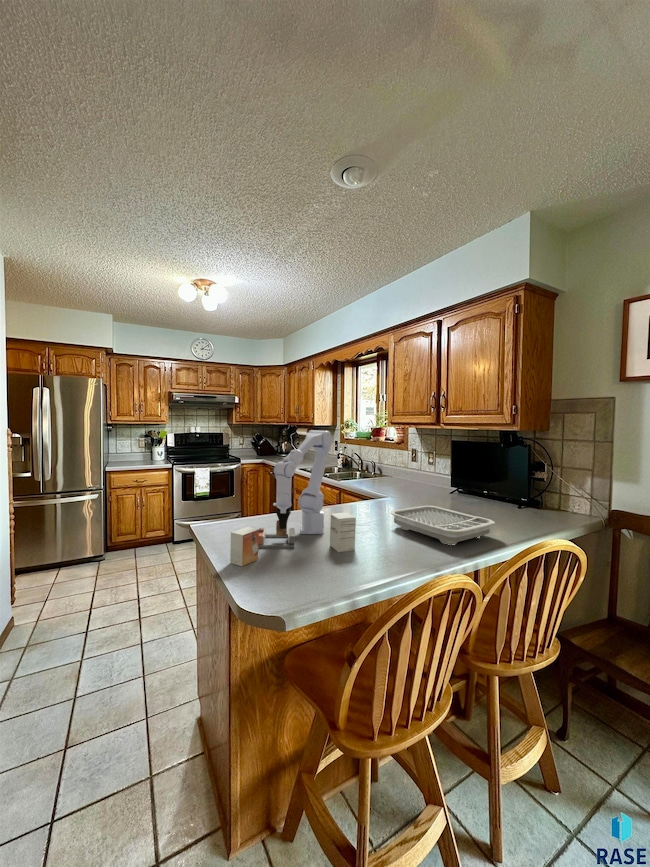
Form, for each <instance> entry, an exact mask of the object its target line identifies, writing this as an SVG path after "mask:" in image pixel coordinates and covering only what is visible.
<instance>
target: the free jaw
mask: <svg viewBox="0 0 650 867" xmlns="http://www.w3.org/2000/svg"><path fill="white" fill-rule="evenodd" d="M258 529H259V545H265V541H266V538H265V534H266V528H265V527H258Z"/></svg>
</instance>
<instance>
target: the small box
mask: <svg viewBox="0 0 650 867" xmlns="http://www.w3.org/2000/svg"><path fill="white" fill-rule="evenodd" d="M258 548H259V528H255V527H250V526H246V527H243V528H241V529H238V530H237V529H236V530H234V531H231V532H230V555H229V556H230V558H229V559H230V561H229V562H230V564H232V565H236V566H239V567H244V566H247V565H248V564H251V563H253V562H255V561H258V560H259V549H260V548H259V549H258Z"/></svg>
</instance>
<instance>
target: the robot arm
mask: <svg viewBox="0 0 650 867" xmlns="http://www.w3.org/2000/svg"><path fill="white" fill-rule="evenodd" d="M332 442H333V436H332V433H331V431H329V430H316V429H315V430H314V429H310V430H309V431H308V432H306V435H305V439H304V440H303V441H302V443H301V444H300V445H299V446H298V447H297V449H295V448H294V449H291V450H290V452H289V453H288V455H286V456H285V457H284V458H283V459H282V461H278V462H277V463H276V464H275V465H274V468H273V473H274V475H275V479H276V480H275V481H276V495H275V496H276V498H275V499H276V502H273V504H272V505H273V506H274V507H276V510H275V514H276V516H277V519H278V520H279V525H280V529H286V526H287V527H288V521H289V517H290V515H291V513H292V512H291V511H290V510H291V508H292V477H293V476H294V475H295V473H296V469H297V467H298V466H299V465H300V463H301V462H303V460H304V455H305V454H307V453H308V451H310V450H311V449H312V450H314V451H315V456H314V460H313V464H312V465H313V466H312V468H311V469H312V470H311V473H310V476H309V481H308V485H307V487H306V488H304V489H303V490H302V491H301V494H300V496H299V498H298V503H297V504H298V507H299V508H300V511H301V527H300V535H301V534H302V535H323V534H324V529H325V521H324V520H325V515H324V514H325V513H324V511H323V510H322V509H323V507H324V498H325V495H324V494H323V492H322V491H321V486H322V481H323V478H324V473H325V468H326V466H327V465H326V464H327V462H328V457H329V452H330V451H331V446H332Z"/></svg>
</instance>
